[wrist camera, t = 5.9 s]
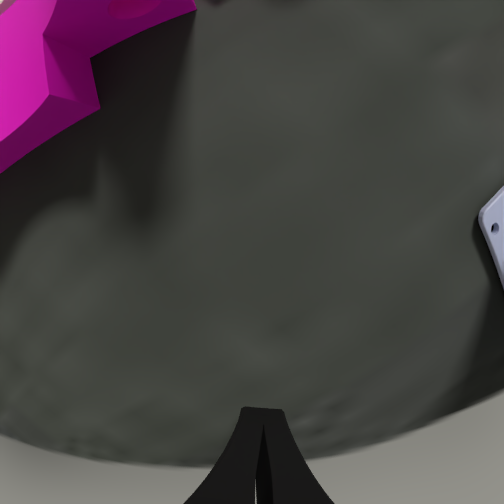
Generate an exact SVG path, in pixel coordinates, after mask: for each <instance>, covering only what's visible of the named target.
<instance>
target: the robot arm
mask: <svg viewBox="0 0 504 504" xmlns="http://www.w3.org/2000/svg"><path fill="white" fill-rule="evenodd" d="M478 221H479V225H480V227H481V230H482V232H483V235H484V237H485V239H486V242H487V244H488V247H489V249H490V252H491V255H492V257H493V260H494V263H495V265H496V268H497V271H498V274H499V277H500V280H501V283H502V286H503V289H504V186H503V187H502V188H501V189H500V190H499V191H498V192H497V193H496V194H495V195H494V196H493V197H492V198H491V199H490V200H489V202H488V203H487V204H486V205H485V206H484V207H483V208H482V209H481V210H480V212H479V216H478ZM493 224H494V229H493V231H492V232H491V227H492V225H493ZM255 479H256V497H257V504H334V503H333V501H332V500H331V499H330V498H329V496H328V495H327V494H326V493H325V491H324V490H323V489H322V487H321V486H320V484H319V483H318V481H317V480H316V478H315V477H314V475H313V474H312V472H311V470H310V469H309V467H308V466H307V464H306V462H305V460H304V458H303V456H302V455H301V453H300V451H299V449H298V447H297V445H296V443H295V441H294V438H293V436H292V434H291V431H290V429H289V426H288V424H287V421H286V418H285V414H284V412H283V411H282V410H281V409H268V408H255V407H243V408H241V412H240V416H239V419H238V422H237V425H236V427H235V430H234V432H233V434H232V436H231V438H230V440H229V442H228V444H227V446H226V448H225V450H224V451H223V453H222V455H221V456H220V458H219V459H218V461H217V462H216V464H215V466H214V467H213V469H212V470H211V471H210V473H209V474H208V476H207V477H206V478H205V480H204V481H203V482H202V483H201V485H200V486H199V487H198V488H197V489H196V491H195V492H194V493H193V494H192V495H191V496H190V497H189V498H188V500H187V501H186V502H185V503H184V504H255Z"/></svg>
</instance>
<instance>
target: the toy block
mask: <svg viewBox="0 0 504 504" xmlns="http://www.w3.org/2000/svg"><path fill="white" fill-rule="evenodd" d="M194 10H197V9H196V6H195V3H194V0H16V1H15V2H14V3H13V4H12V5H11V6H10V7H9V8H8V9H7V10H6V11H5V12H3V13H2V14H1V15H0V174H1V173H2V172H3V171H4V170H6V169H7V168H8V167H10V166H11V165H12V164H14V163H15V162H16V161H18V160H19V159H20V158H22V157H23V156H25V155H26V154H27V153H29V152H30V151H32V150H33V149H35V148H36V147H38V146H39V145H41V144H42V143H44V142H45V141H47V140H48V139H50V138H51V137H53V136H54V135H56V134H57V133H59V132H61V131H62V130H64V129H66V128H67V127H69V126H71V125H72V124H74V123H76V122H77V121H79V120H81V119H83V118H84V117H86V116H88V115H90V114H92V113H93V112H95V111H97V110H99V109H101V108H100V104H99V100H98V95H97V91H96V86H95V81H94V77H93V72H92V67H91V61H90V58H91V57H93V56H94V55H96V54H98V53H100V52H101V51H103V50H105V49H107V48H109V47H111V46H113V45H115V44H117V43H118V42H120V41H122V40H124V39H127V38H129V37H131V36H133V35H135V34H137V33H139V32H141V31H144V30H146V29H148V28H150V27H153V26H155V25H157V24H160V23H162V22H165V21H167V20H170V19H172V18H175V17H177V16H180V15H183V14H185V13H188V12H191V11H194Z"/></svg>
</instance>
